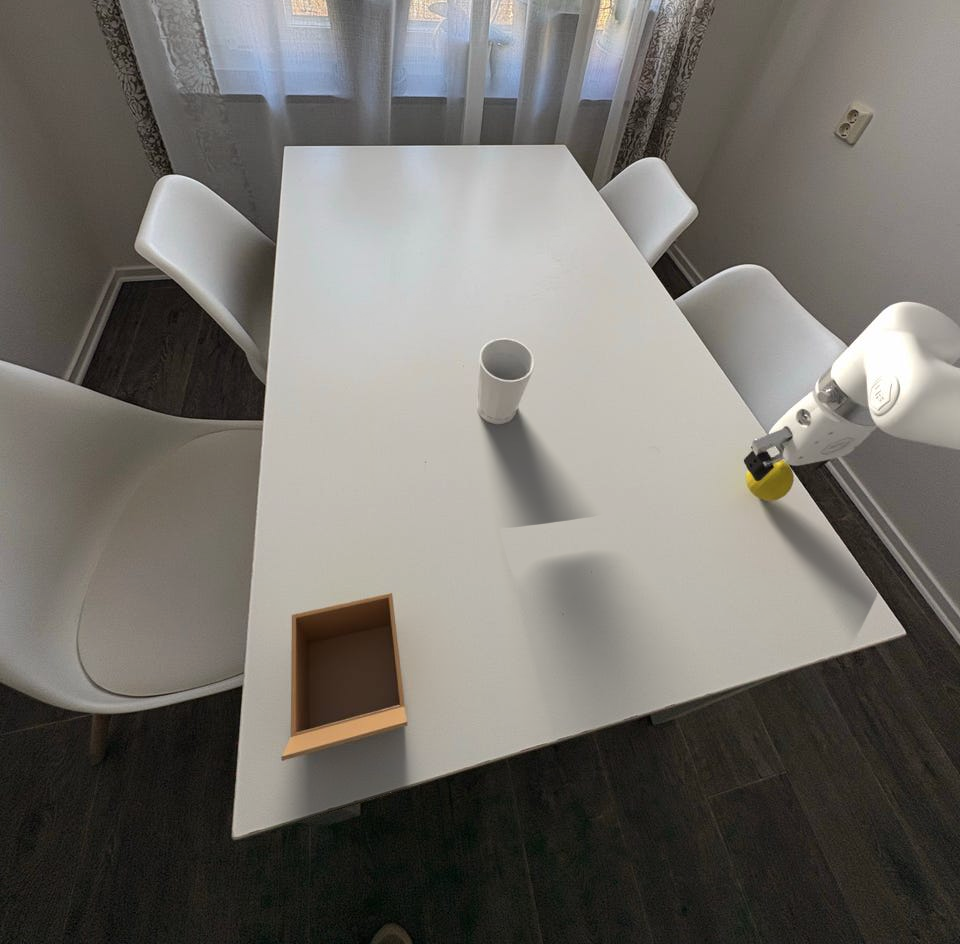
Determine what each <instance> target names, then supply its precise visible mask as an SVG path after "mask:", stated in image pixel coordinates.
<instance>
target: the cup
mask: <svg viewBox="0 0 960 944" xmlns="http://www.w3.org/2000/svg"><path fill="white" fill-rule="evenodd" d="M535 366H536V361H535V356H534V354H533V352H532V350H531V349H530V348H529V347H527V346H526V344H524V343H523V342H520V341H518V340H516V339H512V338H504V337H503V338H497V339H493V340H490V341H489V342H487V343H486V344H485V345H484V346H483V347H482V348H481V350H480V352H479V360H478V387H477V388H478V389H477V402H476V409H477V413H478V415H479V416H480V417H481V418H482V419H483V420H484V421H486V422H488V423H490V424H493V425H503V424H506V423H509V422H511V421H512V420H513V419H514V417H516V413H517V410H518V407H519V405H520V402H521V399H522V398H523V396H524V393H525V390H526V388H527V386H528V384H529V381H530V379H531V376H532V374H533V371H534V369H535Z"/></svg>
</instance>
